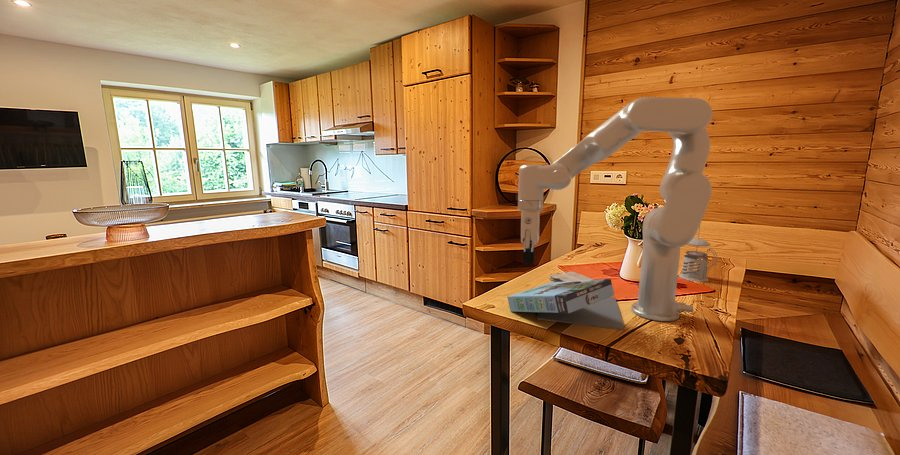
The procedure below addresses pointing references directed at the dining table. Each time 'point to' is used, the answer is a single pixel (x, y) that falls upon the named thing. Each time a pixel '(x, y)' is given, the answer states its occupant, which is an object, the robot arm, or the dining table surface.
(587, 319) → the slate mat
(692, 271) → the french press
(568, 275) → the washcloth
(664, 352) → the dining table surface
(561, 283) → the gum box
